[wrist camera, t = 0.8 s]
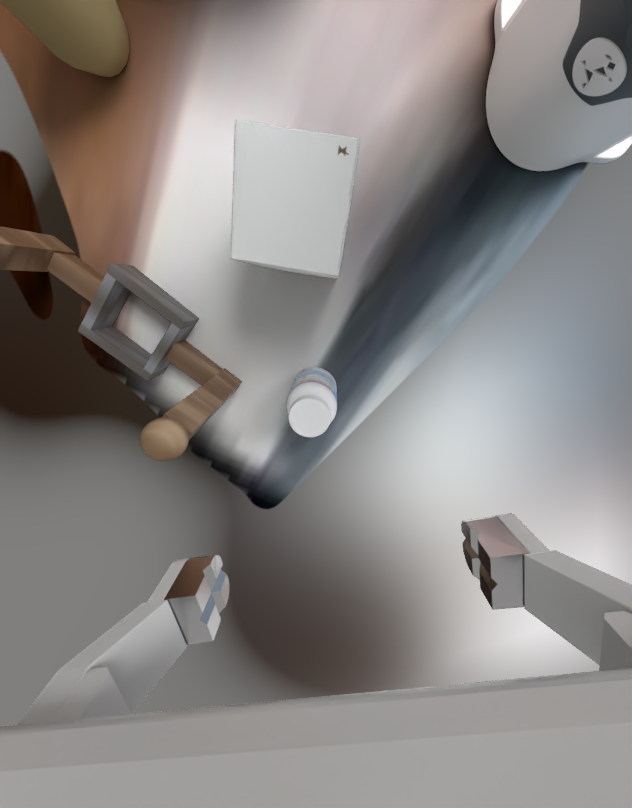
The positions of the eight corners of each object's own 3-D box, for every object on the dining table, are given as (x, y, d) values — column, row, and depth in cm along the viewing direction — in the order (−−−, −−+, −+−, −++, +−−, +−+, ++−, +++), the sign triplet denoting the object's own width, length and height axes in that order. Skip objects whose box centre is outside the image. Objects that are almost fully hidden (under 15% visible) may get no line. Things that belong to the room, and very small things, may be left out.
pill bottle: (321, 413, 44) (317, 453, 33) (286, 391, 43) (271, 425, 32) (345, 381, 42) (348, 412, 31) (309, 357, 41) (300, 381, 30)
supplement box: (274, 182, 34) (231, 110, 20) (352, 195, 34) (364, 132, 20) (267, 269, 37) (226, 260, 23) (337, 281, 37) (339, 278, 23)
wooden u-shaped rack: (59, 207, 36) (-208, 131, 18) (258, 366, 42) (202, 425, 24) (32, 276, 39) (-218, 268, 21) (220, 414, 45) (146, 497, 27)
